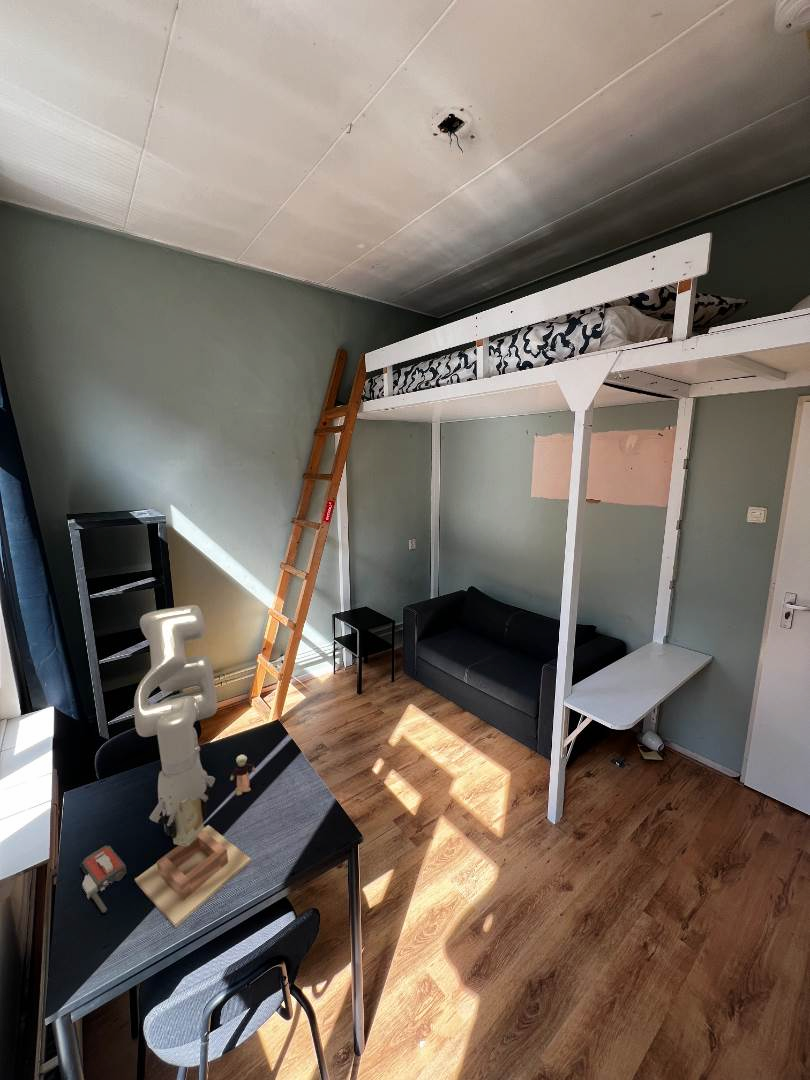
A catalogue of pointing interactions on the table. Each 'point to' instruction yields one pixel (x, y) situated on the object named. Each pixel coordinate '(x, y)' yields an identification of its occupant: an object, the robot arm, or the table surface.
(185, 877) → the socket stand
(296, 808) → the table surface
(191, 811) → the skincare box
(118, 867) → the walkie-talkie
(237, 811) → the table surface
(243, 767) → the grandmother figurine
